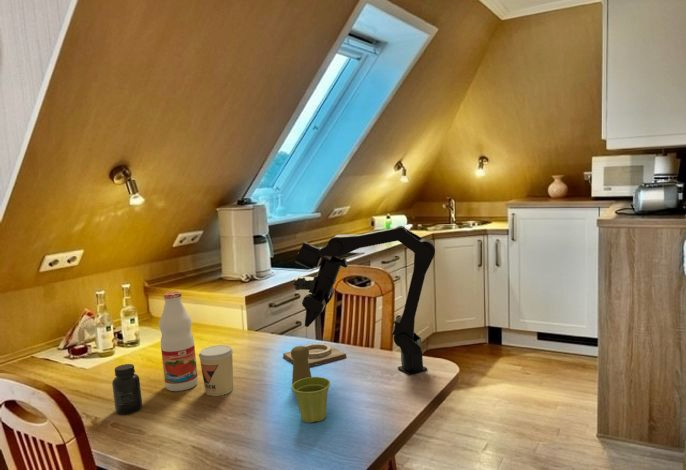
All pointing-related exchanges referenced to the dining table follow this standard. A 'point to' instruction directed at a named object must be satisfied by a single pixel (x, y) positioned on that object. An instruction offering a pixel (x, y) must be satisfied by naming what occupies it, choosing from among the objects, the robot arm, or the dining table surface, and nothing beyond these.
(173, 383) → the fruit juice
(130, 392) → the supplement bottle
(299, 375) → the olive brown pestle
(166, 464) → the dining table surface
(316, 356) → the ring board
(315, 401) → the plant pot
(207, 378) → the white canister
